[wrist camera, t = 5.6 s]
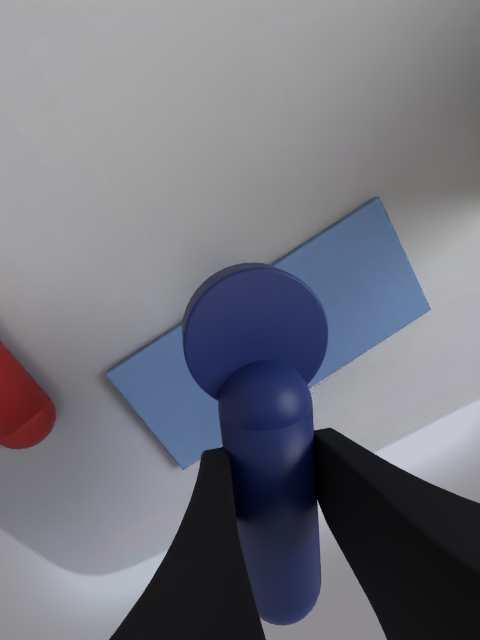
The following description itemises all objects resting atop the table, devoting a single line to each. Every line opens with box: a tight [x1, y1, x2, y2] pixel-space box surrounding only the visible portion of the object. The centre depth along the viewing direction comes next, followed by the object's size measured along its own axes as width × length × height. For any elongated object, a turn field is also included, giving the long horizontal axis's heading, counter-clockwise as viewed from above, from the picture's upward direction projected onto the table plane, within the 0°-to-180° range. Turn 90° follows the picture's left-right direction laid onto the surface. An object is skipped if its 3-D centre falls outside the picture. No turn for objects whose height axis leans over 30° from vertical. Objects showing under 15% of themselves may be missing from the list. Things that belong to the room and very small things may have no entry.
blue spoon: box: [182, 263, 328, 625], centre depth 11 cm, size 11×4×3 cm, turn 5°
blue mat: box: [106, 197, 431, 470], centre depth 19 cm, size 15×6×1 cm, turn 122°
